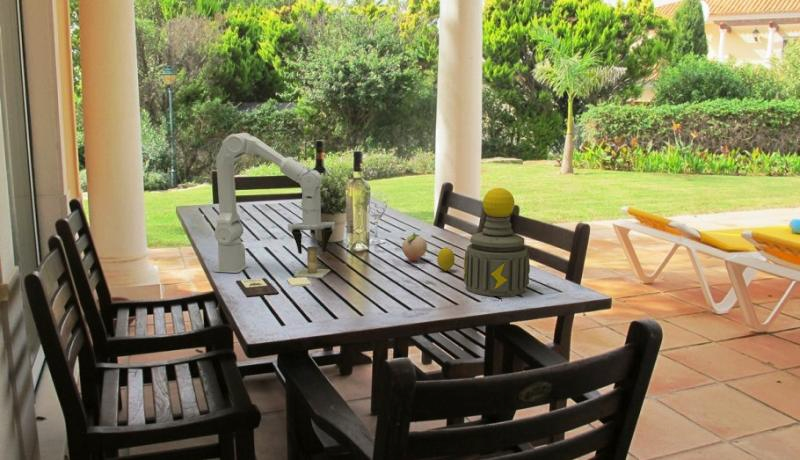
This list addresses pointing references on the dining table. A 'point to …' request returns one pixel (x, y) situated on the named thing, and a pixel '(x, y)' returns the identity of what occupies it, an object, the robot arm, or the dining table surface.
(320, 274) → the mat
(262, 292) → the chocolate bar
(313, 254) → the dowel
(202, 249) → the dining table surface
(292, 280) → the tile
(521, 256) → the decorative lamp
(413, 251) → the decorative fruit
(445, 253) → the lemon
